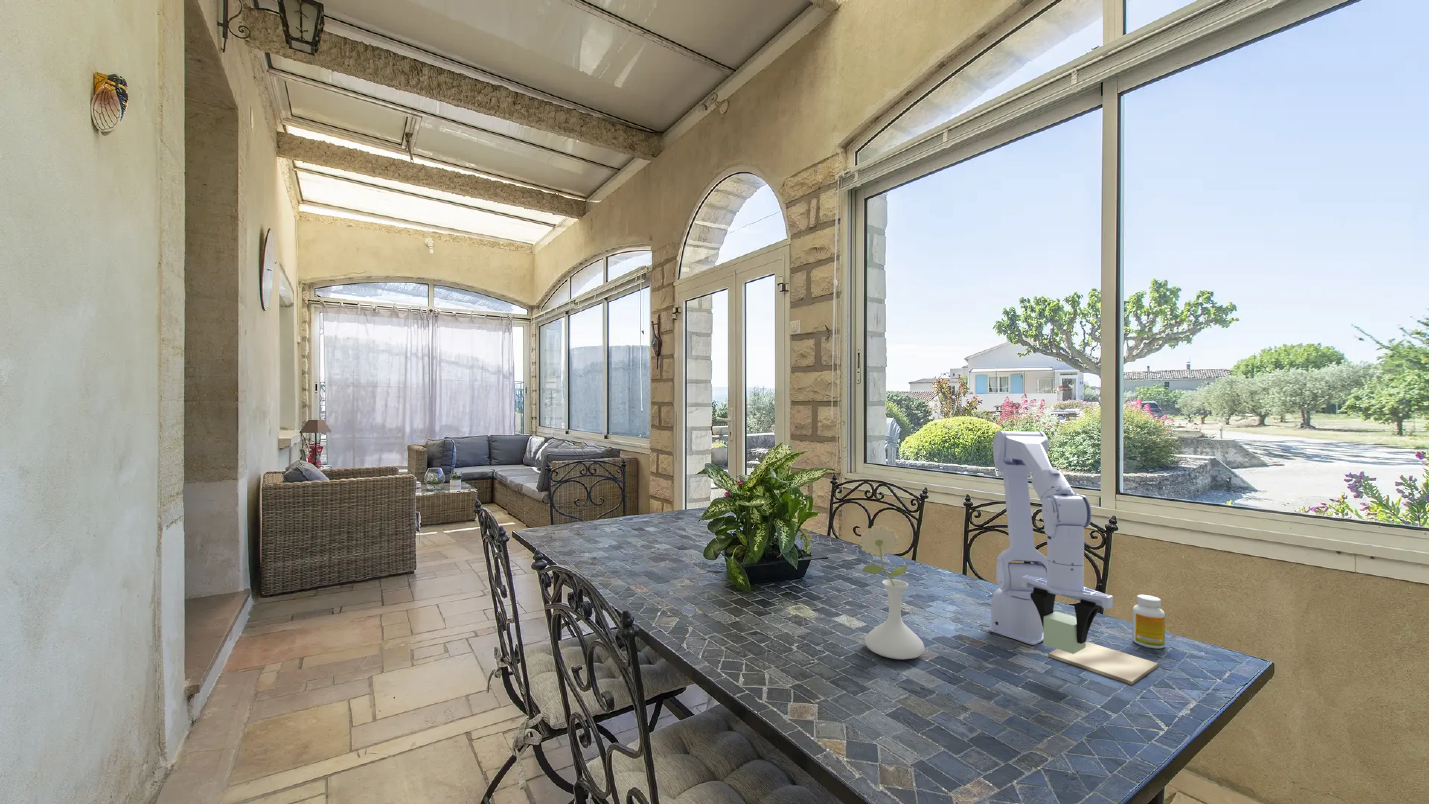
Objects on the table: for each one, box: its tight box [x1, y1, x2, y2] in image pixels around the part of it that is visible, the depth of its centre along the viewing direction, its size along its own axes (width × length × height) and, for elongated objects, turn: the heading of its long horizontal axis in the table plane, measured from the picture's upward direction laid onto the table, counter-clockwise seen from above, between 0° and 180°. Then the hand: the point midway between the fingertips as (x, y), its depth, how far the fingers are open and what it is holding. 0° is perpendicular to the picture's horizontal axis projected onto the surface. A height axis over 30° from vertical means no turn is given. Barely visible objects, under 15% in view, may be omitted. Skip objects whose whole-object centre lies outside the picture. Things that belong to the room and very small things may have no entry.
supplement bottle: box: [1132, 594, 1166, 649], centre depth 120 cm, size 5×5×10 cm
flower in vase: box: [858, 524, 926, 660], centre depth 114 cm, size 13×11×25 cm
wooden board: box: [1048, 641, 1159, 686], centre depth 111 cm, size 14×13×1 cm
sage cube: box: [1042, 611, 1087, 654], centre depth 104 cm, size 5×5×5 cm
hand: (1064, 636), depth 104 cm, fingers closed on sage cube, 5 cm apart
